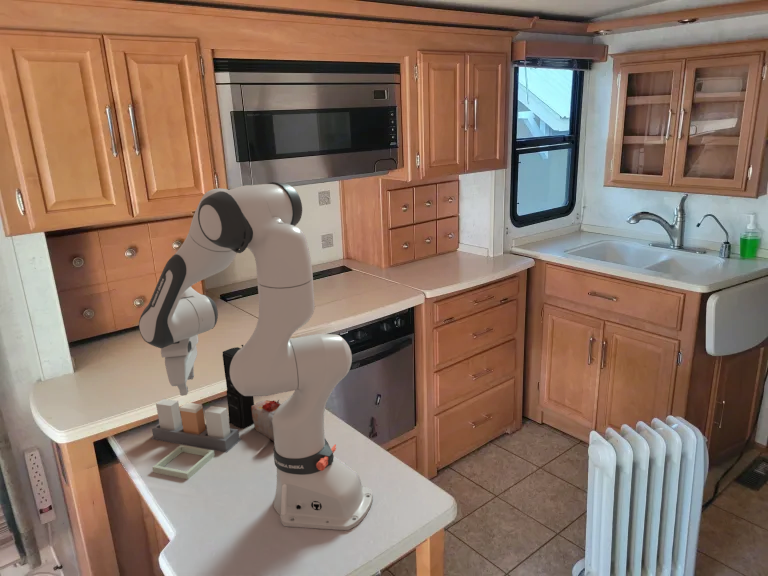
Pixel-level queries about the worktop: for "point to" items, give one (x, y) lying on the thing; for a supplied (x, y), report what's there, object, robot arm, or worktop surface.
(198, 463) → the tray
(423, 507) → the worktop surface
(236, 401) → the portable radio
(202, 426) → the block
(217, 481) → the worktop surface
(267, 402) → the food item
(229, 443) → the fuse block
